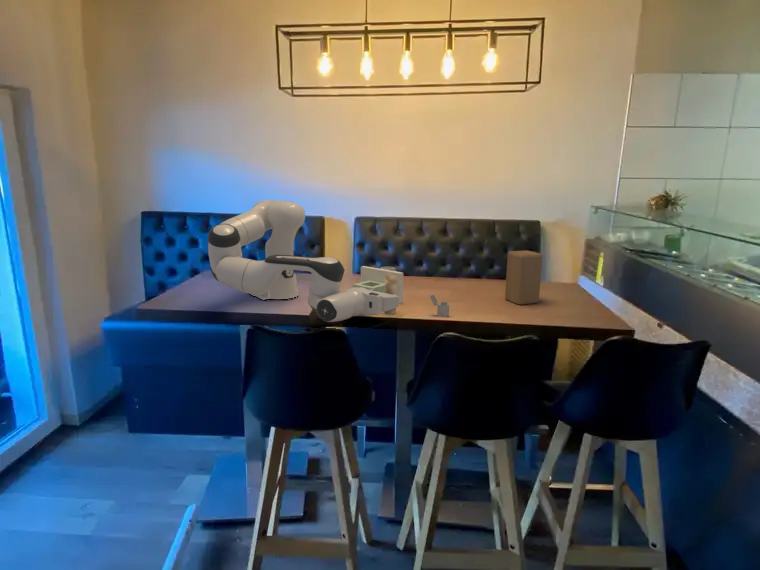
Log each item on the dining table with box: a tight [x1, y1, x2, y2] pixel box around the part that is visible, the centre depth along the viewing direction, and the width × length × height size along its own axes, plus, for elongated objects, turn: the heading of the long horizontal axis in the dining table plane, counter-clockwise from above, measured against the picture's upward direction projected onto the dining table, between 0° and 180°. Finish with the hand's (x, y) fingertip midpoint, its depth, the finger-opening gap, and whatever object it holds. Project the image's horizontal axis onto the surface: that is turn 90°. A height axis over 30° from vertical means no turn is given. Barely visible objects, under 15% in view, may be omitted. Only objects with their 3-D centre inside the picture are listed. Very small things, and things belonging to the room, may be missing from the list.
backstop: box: [360, 265, 404, 305], centre depth 195 cm, size 20×21×13 cm
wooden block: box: [504, 249, 543, 306], centre depth 204 cm, size 10×10×20 cm
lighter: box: [429, 293, 450, 317], centre depth 185 cm, size 7×2×8 cm, turn 81°
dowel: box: [384, 274, 397, 315], centre depth 183 cm, size 4×4×15 cm
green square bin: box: [352, 280, 385, 293], centre depth 198 cm, size 10×10×7 cm
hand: (385, 293), depth 180 cm, fingers open, 8 cm apart
